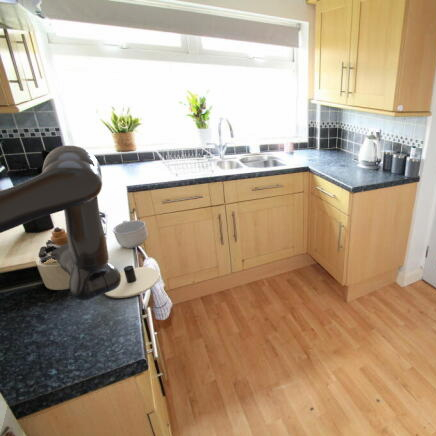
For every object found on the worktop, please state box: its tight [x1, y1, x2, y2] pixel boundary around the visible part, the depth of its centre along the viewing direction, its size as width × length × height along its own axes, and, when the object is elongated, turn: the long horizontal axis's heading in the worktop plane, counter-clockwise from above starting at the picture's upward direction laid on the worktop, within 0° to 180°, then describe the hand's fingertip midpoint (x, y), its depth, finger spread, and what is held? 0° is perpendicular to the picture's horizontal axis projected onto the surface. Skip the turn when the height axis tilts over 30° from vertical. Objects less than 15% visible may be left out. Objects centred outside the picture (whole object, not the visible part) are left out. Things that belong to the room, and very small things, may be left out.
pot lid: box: [103, 265, 161, 299], centre depth 100 cm, size 16×16×6 cm
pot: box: [35, 252, 70, 291], centre depth 102 cm, size 15×20×8 cm
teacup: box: [112, 219, 149, 249], centre depth 123 cm, size 14×11×8 cm
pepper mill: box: [50, 226, 68, 245], centre depth 99 cm, size 4×4×12 cm
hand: (59, 240), depth 100 cm, fingers closed on pepper mill, 4 cm apart
